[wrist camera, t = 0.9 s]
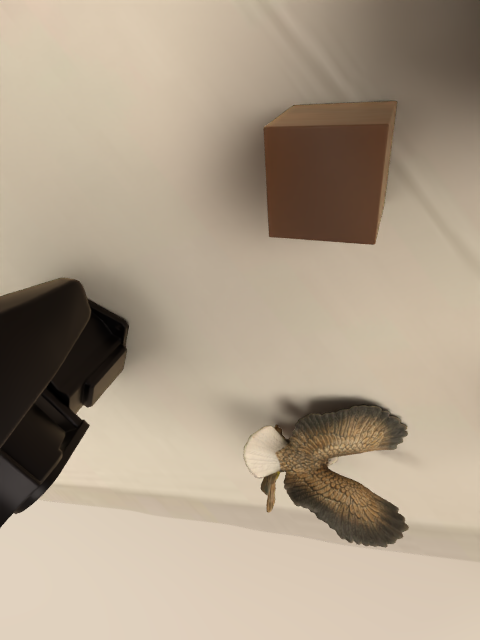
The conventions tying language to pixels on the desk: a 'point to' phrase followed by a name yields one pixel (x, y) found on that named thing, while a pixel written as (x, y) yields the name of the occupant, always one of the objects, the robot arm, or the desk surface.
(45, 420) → the robot arm
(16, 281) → the desk surface
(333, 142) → the block
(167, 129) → the desk surface
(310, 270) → the desk surface
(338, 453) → the eagle figurine
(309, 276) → the desk surface
